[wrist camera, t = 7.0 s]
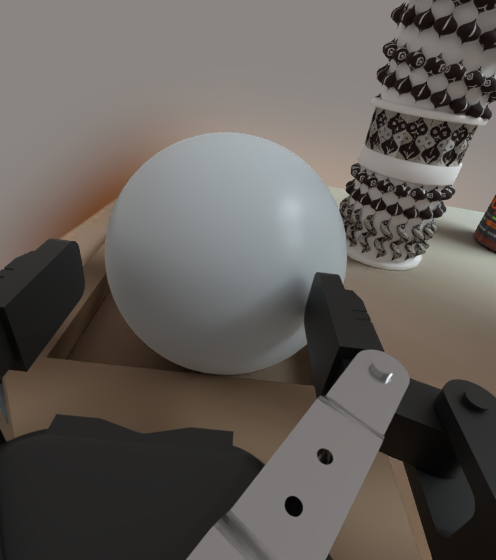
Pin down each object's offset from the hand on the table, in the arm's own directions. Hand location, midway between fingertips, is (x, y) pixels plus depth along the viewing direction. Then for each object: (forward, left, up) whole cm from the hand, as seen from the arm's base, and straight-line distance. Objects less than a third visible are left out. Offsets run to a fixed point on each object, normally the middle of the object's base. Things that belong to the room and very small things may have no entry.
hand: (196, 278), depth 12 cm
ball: (-4, -3, -2) cm, 5 cm away
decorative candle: (-24, -3, -7) cm, 25 cm away
